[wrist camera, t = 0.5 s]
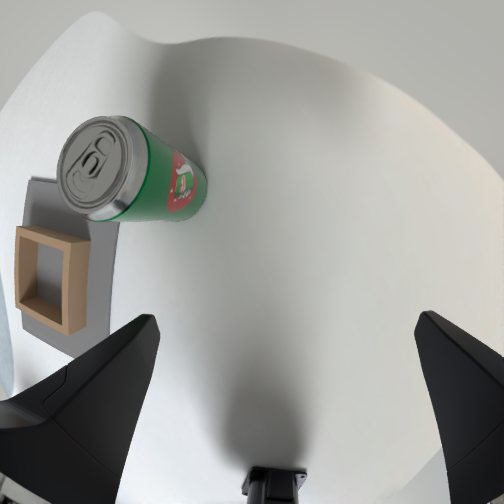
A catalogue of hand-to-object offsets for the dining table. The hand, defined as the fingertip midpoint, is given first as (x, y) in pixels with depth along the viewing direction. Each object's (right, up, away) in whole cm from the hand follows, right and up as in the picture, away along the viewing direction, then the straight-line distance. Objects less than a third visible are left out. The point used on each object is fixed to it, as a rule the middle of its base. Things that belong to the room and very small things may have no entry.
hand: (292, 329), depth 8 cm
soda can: (-7, +7, +14) cm, 17 cm away
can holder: (-21, 0, +15) cm, 26 cm away
